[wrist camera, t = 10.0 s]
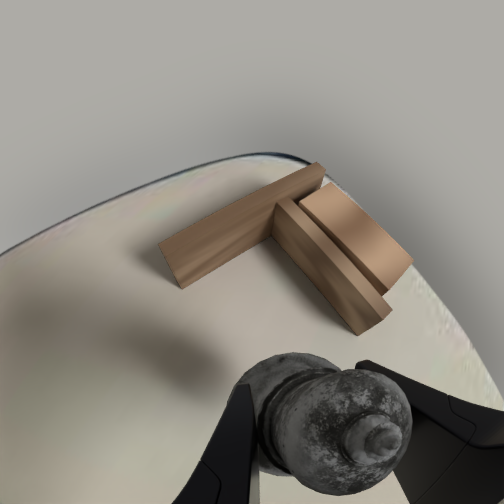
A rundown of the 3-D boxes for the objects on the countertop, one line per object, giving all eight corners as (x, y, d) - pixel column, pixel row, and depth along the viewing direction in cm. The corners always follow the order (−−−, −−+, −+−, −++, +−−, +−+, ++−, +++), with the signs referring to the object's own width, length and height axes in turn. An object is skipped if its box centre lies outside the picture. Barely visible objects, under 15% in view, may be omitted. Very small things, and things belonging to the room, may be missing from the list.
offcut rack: (394, 299, 24) (427, 271, 18) (266, 409, 19) (274, 414, 14) (305, 203, 29) (316, 161, 24) (175, 279, 24) (158, 244, 19)
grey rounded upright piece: (343, 372, 14) (509, 293, 4) (321, 465, 11) (464, 550, 1) (244, 351, 15) (245, 225, 4) (217, 447, 12) (144, 560, 2)
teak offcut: (403, 271, 21) (414, 260, 20) (377, 299, 20) (389, 290, 18) (325, 196, 25) (330, 182, 23) (295, 216, 24) (299, 201, 22)
